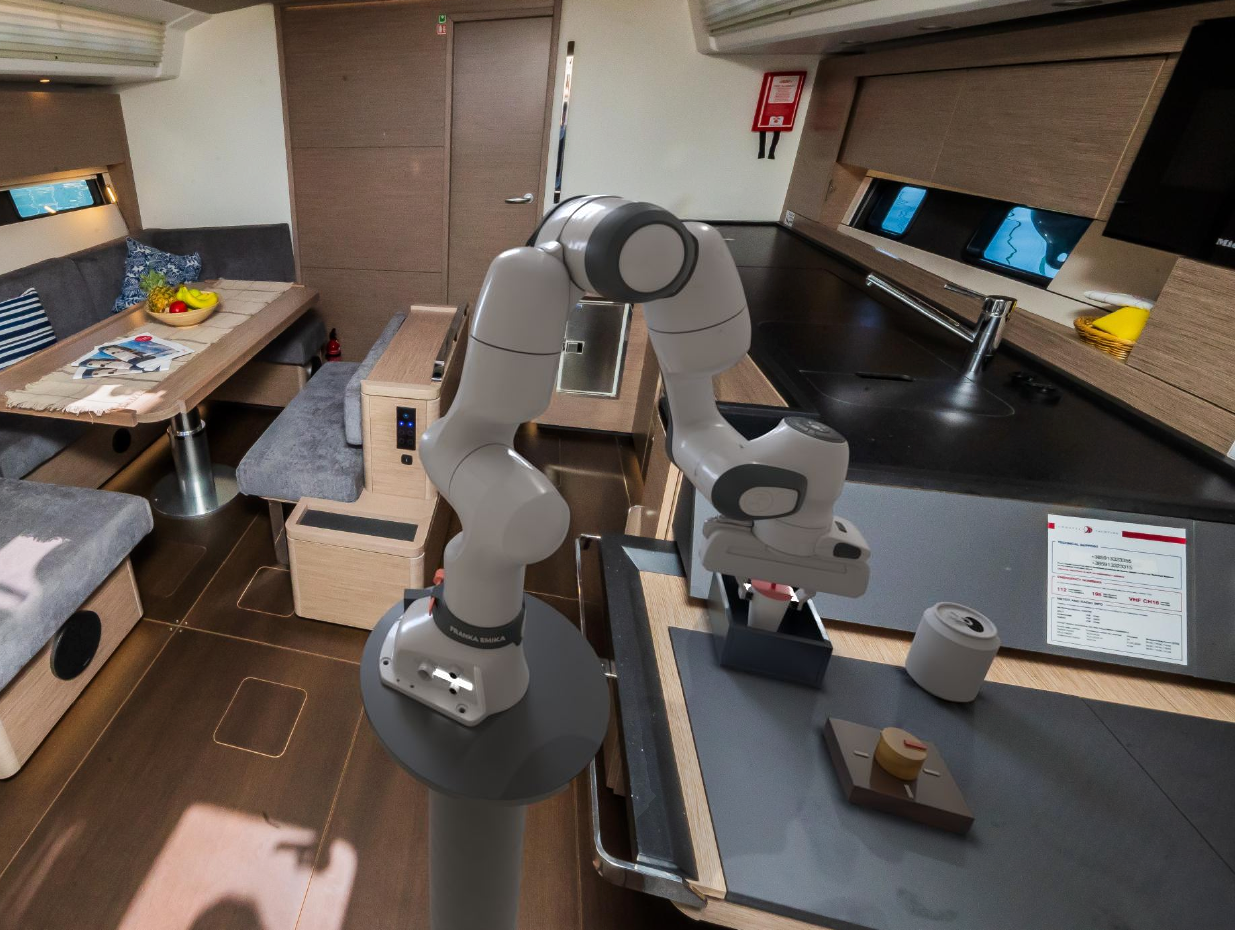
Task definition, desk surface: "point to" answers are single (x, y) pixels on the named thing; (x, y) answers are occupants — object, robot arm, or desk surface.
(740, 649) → the dark open box
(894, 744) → the tap knob
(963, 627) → the can
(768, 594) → the cup
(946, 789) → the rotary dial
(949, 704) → the desk surface
